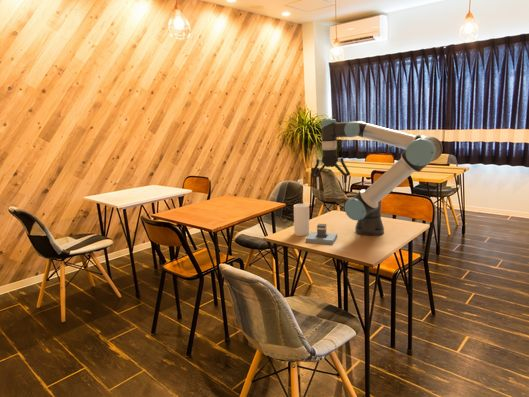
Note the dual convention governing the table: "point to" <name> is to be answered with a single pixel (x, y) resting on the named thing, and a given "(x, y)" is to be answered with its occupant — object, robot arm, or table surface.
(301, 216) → the cup
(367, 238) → the table surface
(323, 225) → the charger
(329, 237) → the outlet plate
